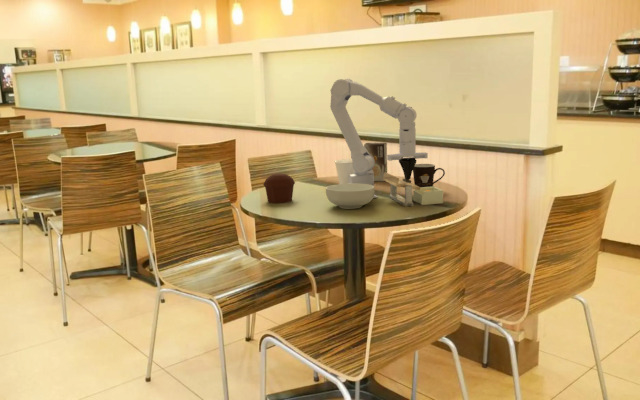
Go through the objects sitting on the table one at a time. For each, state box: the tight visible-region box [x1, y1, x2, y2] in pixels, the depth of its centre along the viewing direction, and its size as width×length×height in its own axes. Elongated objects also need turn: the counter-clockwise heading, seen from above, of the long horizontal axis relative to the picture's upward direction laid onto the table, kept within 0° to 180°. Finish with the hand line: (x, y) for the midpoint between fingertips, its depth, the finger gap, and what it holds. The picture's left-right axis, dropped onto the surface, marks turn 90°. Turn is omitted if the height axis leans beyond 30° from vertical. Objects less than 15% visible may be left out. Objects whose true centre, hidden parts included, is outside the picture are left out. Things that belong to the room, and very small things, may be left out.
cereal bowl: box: [325, 183, 376, 210], centre depth 202 cm, size 17×17×7 cm
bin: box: [413, 186, 444, 206], centre depth 205 cm, size 8×8×4 cm
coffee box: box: [363, 142, 388, 182], centre depth 252 cm, size 9×6×16 cm
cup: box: [334, 158, 355, 184], centre depth 238 cm, size 10×10×11 cm
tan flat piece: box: [383, 172, 420, 190], centre depth 207 cm, size 9×14×3 cm, turn 12°
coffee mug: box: [412, 163, 446, 187], centre depth 224 cm, size 12×9×10 cm
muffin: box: [263, 172, 296, 204], centre depth 216 cm, size 12×11×10 cm
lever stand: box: [388, 183, 414, 207], centre depth 207 cm, size 3×17×7 cm, turn 12°
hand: (407, 179), depth 211 cm, fingers closed
